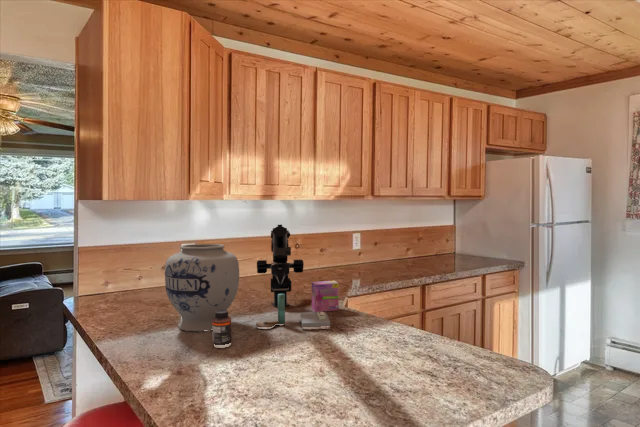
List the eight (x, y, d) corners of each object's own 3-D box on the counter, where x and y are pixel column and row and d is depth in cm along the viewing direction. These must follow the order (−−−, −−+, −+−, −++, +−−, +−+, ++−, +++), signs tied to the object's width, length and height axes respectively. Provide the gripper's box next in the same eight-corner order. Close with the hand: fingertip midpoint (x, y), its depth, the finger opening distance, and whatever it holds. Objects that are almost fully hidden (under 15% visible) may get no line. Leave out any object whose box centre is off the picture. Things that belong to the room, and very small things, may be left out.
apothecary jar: (166, 319, 169) (164, 242, 168) (234, 312, 178) (233, 240, 177) (165, 340, 144) (163, 250, 143) (245, 331, 153) (244, 247, 152)
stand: (300, 319, 168) (300, 307, 168) (325, 318, 169) (325, 306, 169) (302, 330, 154) (302, 316, 154) (330, 329, 155) (330, 315, 155)
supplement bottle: (224, 341, 142) (223, 307, 142) (235, 345, 139) (235, 310, 138) (208, 346, 138) (208, 311, 137) (220, 350, 134) (220, 314, 133)
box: (314, 312, 178) (314, 284, 177) (311, 309, 183) (311, 281, 183) (338, 310, 180) (338, 282, 180) (334, 307, 186) (334, 280, 185)
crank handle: (256, 324, 161) (256, 293, 161) (284, 323, 162) (284, 293, 162) (255, 330, 154) (255, 298, 154) (285, 329, 155) (284, 297, 155)
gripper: (256, 240, 173) (255, 272, 163) (303, 239, 175) (305, 271, 165) (257, 257, 182) (256, 288, 171) (302, 256, 183) (303, 287, 173)
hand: (280, 283), depth 170 cm, fingers closed
